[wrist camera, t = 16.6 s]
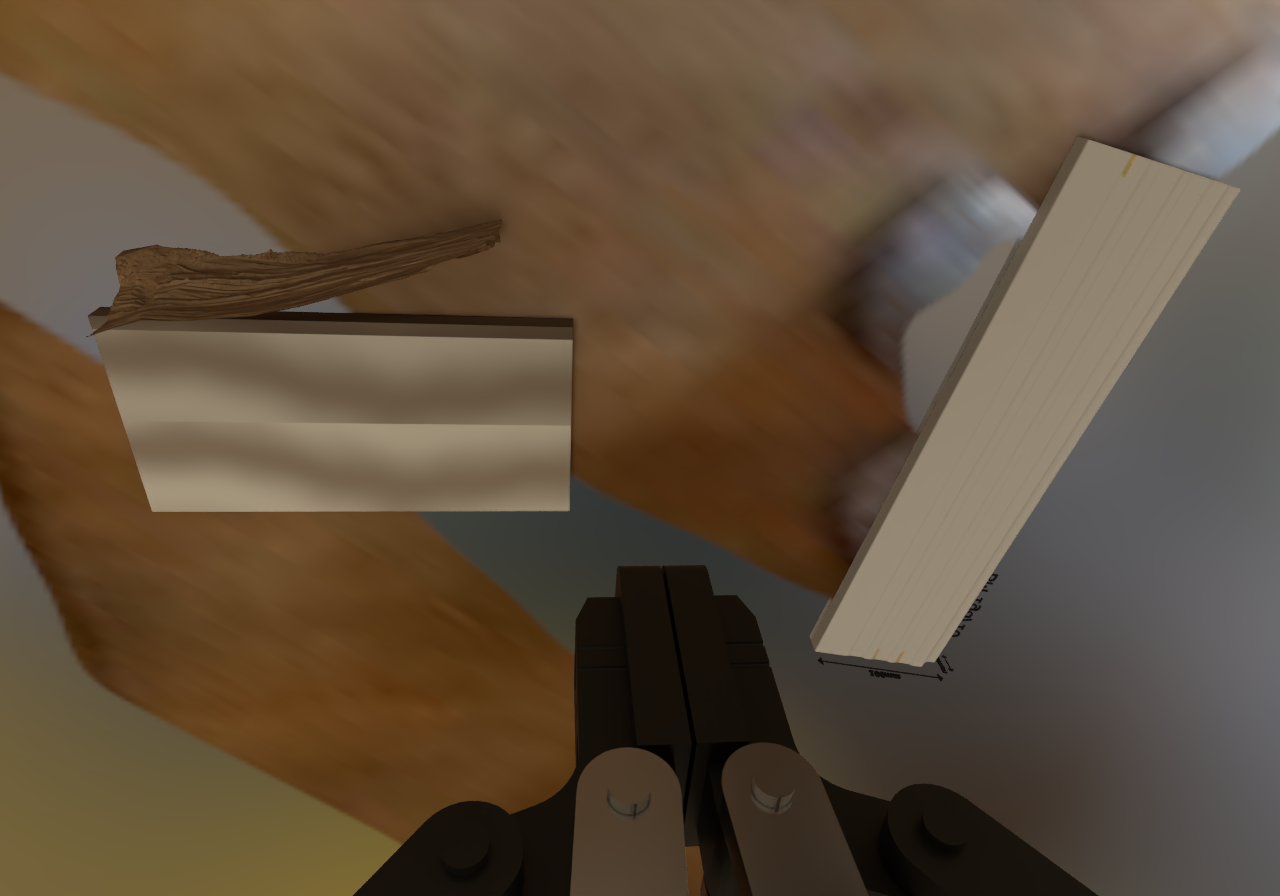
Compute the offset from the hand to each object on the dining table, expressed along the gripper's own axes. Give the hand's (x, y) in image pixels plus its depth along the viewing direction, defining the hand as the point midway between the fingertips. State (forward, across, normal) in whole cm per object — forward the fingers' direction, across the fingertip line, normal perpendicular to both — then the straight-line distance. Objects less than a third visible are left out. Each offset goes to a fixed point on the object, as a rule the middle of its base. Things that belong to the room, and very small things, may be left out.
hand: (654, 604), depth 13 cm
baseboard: (+24, -22, +11) cm, 34 cm away
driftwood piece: (+23, +12, +1) cm, 26 cm away
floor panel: (+23, +11, +9) cm, 27 cm away
